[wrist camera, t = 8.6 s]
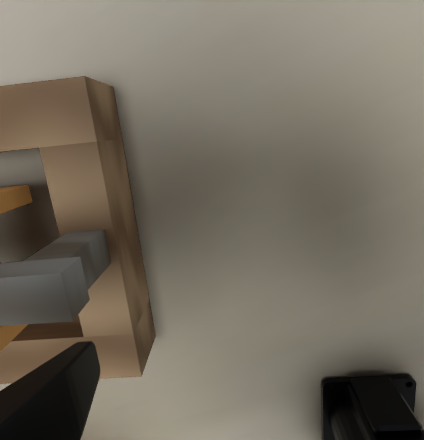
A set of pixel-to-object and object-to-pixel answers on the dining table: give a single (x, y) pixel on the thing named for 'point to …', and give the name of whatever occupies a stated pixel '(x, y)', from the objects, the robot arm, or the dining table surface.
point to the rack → (76, 234)
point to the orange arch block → (3, 202)
